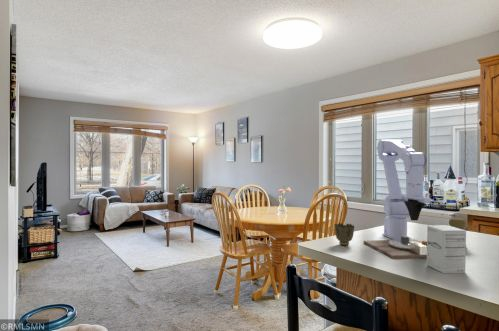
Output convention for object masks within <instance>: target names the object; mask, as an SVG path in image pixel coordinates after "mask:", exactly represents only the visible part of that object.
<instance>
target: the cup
mask: <svg viewBox="0 0 499 331" xmlns="http://www.w3.org/2000/svg"><path fill="white" fill-rule="evenodd" d="M333 225H334V232H335V238H336V240H337V241H339V242H338V243H339V245H340V246H342V247H343V246H344V247H347V246H349V245H350V242H351V241H352V240H353V238H354V234H355V233H354V232H355V225H354V224H352V223H346V224H344V223H342V222H338V223H335V224H333Z"/></svg>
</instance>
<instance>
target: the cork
mask: <svg viewBox="0 0 499 331" xmlns="http://www.w3.org/2000/svg"><path fill="white" fill-rule="evenodd" d="M448 226H452V227H455V228H459V229H462V230H465V229H464V228H465V226H466V221H465V219H463V218H460V217H451V218H449V220H448Z"/></svg>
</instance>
